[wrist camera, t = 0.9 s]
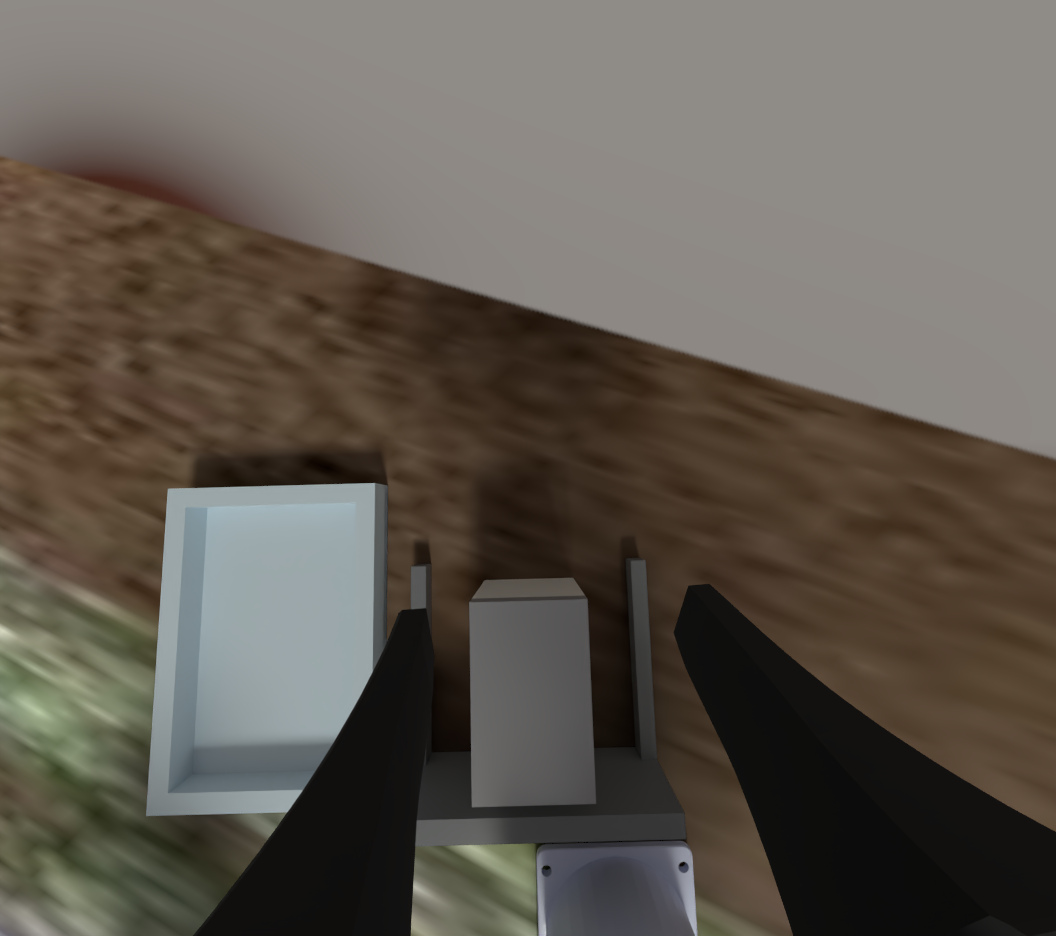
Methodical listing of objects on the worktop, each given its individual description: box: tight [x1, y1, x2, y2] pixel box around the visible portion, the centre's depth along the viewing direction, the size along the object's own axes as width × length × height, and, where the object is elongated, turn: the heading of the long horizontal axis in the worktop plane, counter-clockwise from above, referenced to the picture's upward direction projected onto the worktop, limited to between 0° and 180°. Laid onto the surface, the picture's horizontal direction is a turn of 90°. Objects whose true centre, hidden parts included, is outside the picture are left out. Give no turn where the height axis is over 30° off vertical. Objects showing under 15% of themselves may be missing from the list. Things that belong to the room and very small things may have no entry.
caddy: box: [469, 578, 596, 807], centre depth 20 cm, size 8×5×6 cm, turn 2°
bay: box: [411, 558, 686, 846], centre depth 20 cm, size 11×13×5 cm
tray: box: [146, 483, 388, 816], centre depth 22 cm, size 16×11×2 cm
